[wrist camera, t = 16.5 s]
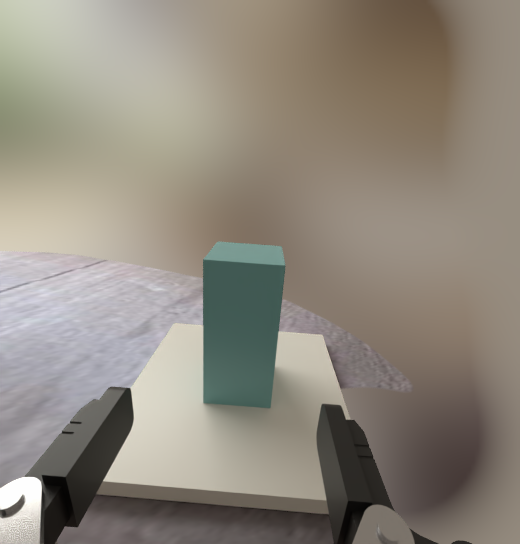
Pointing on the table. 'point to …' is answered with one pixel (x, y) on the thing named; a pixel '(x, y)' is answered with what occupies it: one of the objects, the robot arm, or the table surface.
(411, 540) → the robot arm
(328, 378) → the stub base
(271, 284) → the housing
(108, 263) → the table surface
